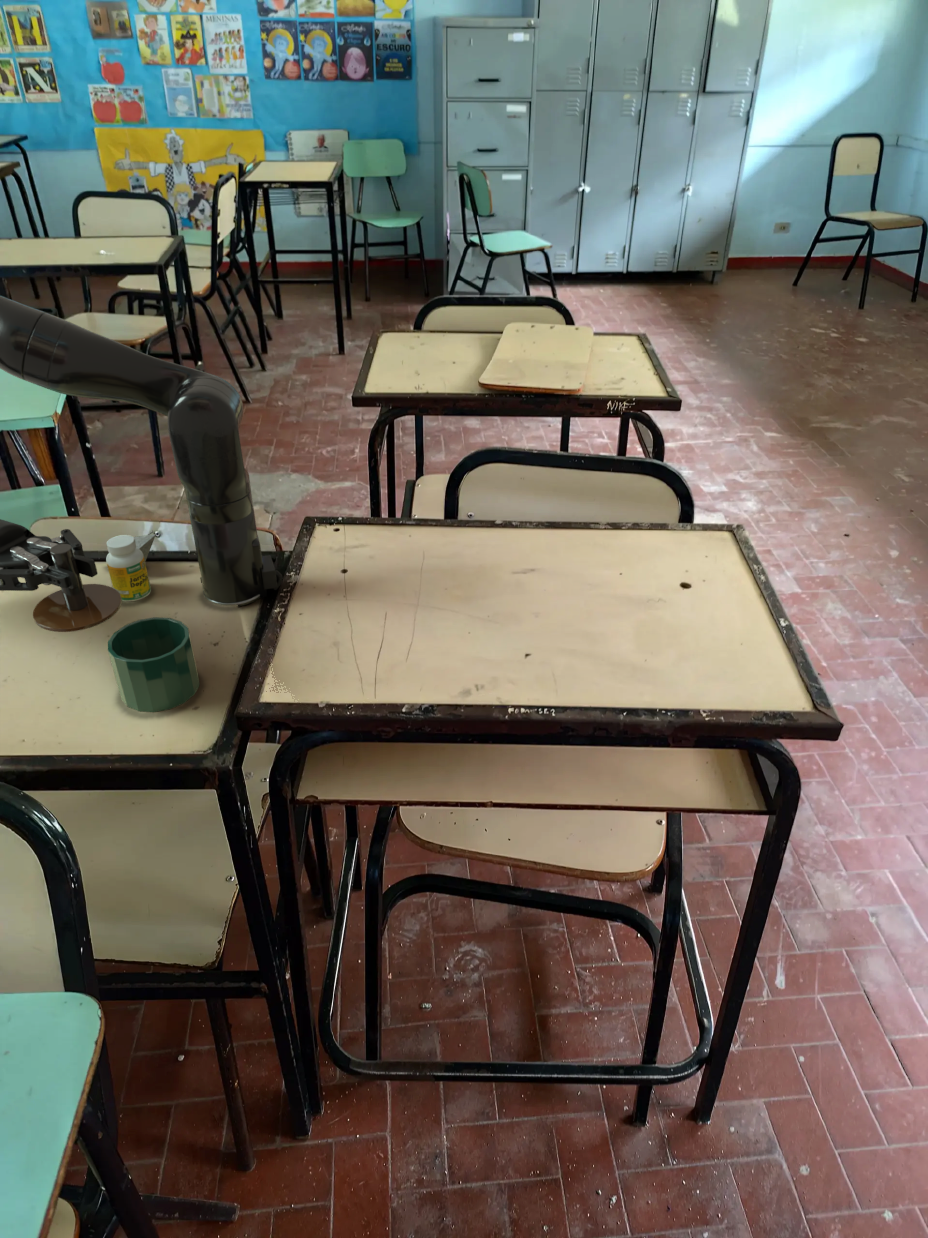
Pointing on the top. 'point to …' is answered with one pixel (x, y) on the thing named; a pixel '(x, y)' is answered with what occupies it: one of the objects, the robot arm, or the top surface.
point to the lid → (75, 600)
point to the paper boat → (145, 543)
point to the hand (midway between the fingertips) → (83, 574)
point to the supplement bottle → (127, 568)
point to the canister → (154, 664)
